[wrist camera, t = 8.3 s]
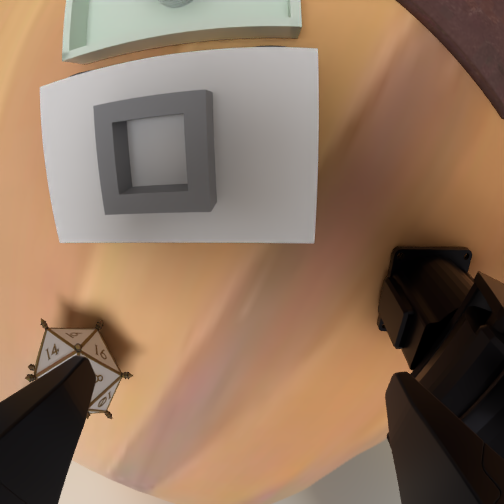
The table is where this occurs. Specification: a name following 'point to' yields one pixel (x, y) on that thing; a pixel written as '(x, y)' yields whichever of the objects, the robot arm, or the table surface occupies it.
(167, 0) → the pin
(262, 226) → the white socket plate
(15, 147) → the table surface
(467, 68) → the notebook
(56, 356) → the game die
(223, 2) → the tray
